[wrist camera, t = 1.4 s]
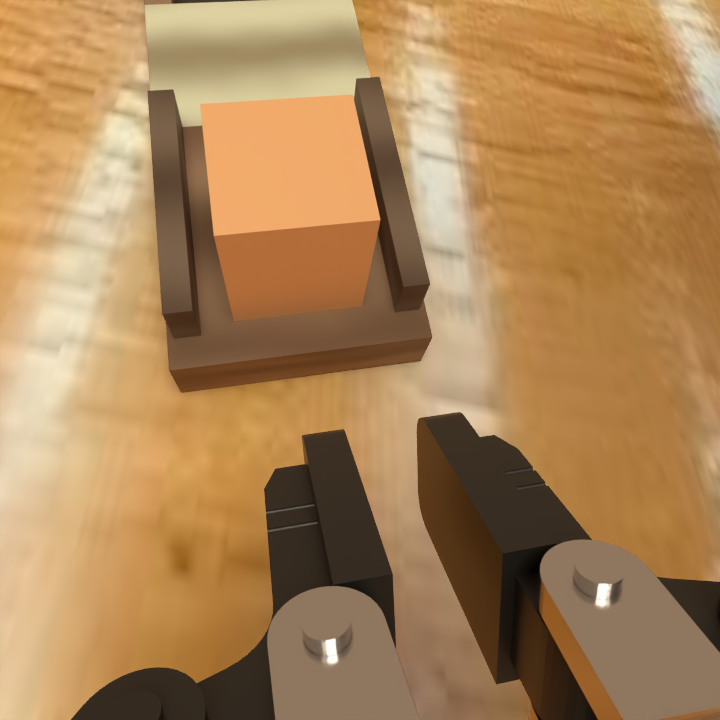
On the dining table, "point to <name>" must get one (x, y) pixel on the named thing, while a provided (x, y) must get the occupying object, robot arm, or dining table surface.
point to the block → (290, 204)
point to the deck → (192, 200)
